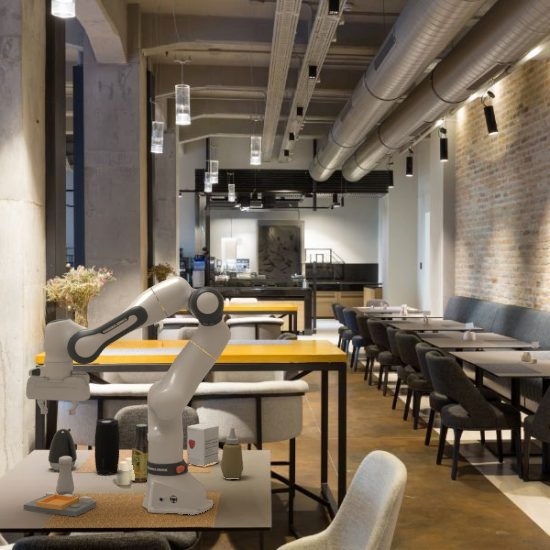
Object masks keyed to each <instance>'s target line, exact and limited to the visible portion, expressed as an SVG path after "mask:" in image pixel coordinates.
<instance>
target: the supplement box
mask: <svg viewBox="0 0 550 550" xmlns="http://www.w3.org/2000/svg"><path fill="white" fill-rule="evenodd" d="M186 429H187V437H186V438H187V440H186V441H187V442H186V443H187V444H186V445H187V446H186V448H187V449H186V463H189V462H190V464H194V465H202V466H205V465H207V464H210V463H213V462H217V461H218V462H219V439H220V438H219V435H220V434H219V433H220V432H219V429H220V426H219V425H217V424H210V423H205V422H200V423H197V424H191V425H188V426H187V428H186Z"/></svg>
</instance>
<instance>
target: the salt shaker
mask: <svg viewBox="0 0 550 550" xmlns="http://www.w3.org/2000/svg"><path fill="white" fill-rule="evenodd" d="M59 464H60V465H61V466H60V471H58V476H57V484H56V490H55V491H56V492H55V493H57V495H65V494H71V495H73V493H74V491H75V483H74V479H73V478H74V477H73V472H72V468H71V465H70V464H72V457H70V456H62V457H60V458H59Z"/></svg>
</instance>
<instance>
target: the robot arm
mask: <svg viewBox="0 0 550 550" xmlns="http://www.w3.org/2000/svg"><path fill="white" fill-rule="evenodd" d="M224 309H225V299H224V296H223V295H222V293H221V292H220V291H219V290H218V289H217V288H215V287H212V286H202V287H200V288H193V287H192V286H191V284H190V283H189V281H187V280H186V279H185V278H184V277H182V276H173V277H170V278H168V279H165V280H163V281H160V282H158V283H156V284H154V285H153V286H151V287H149V288H147V289H146V290H144V291H143V292H141V293H140V294H139V295H137V296H136V297H135V298H134V299H133V300H132V301H131V302H130V304H129V305H128V306H127V307H126V309H125V310H124V311H122V312H121V313H120V314H119V315H117V316H116V317H113V318H112V319H111V320H108V321H107V322H104V323H103V324H101V325H99V326H98V327H96V328H93V329H92V328H91V327H90V328H88V327H86V326H83V325H81V324H78V323H76V322H75V321H74V320H72V319H71V318H68V317H64V318H59V319H55V320H50V321H49V322H48V323H47V324H46V326H45V329H44V335H43V337H44V340H43V348H44V354H45V355H44V359H43V365H39V366H36V367H34V368H30V369H29V370H28V376H29V377H28V378H27V381H26V388H25V389H26V390H25V395H26V398H27V399H28V400H37V402H36V403H37V405H38V407H39V409H40V414H41V415H47V414H48V410H49V409H48V407H46V406H45V401H65V402H66V401H68V402H69V401H70V402H71V404H72V408H70V409H68V416H75V415H76V409H77V408H78V406H79V404H80V402H85V401H88V400H89V399H90V398H91V388H90V387H91V386H90V381H91V380H90V379H91V378H90V377H91V376H90V375H89V373H88V372H86V371H84V370H80V371H79V370H74V362H75V363H77V364H80V365H88V364H92V363H93V362H95V361H96V360H97V359H99V357H100V356H101V354H102V353H103V351H104V350H105V349H106V348H107V347H108V346H110V345H112V344H113V343H114V342H117V341H118V340H119V339H121V338H123V337H124V336H126V335H128V334H129V333H132V332H134V331H137V330H139V329H140V330H141V329H143V328H146V327H150V326H152V325H154V324H156V323H159V322H161V321H164V320H165V319H167V318H168V317H171V316H172V315H173V314H176V313H177V312H180V311H183V310H186V312H188V313H189V314H190V315H191V317H193V318H194V319H196V320H198V327H197V329H196V331H195V333H194V334H193V335H192V336H191V338H190V339H189V340H188V342H186V343H185V345H184V347H183V348H182V349H181V350H180V352H179V353H178V354H177V356H176V357H175V358H174V360H173V362H172V363H171V365H170V367H169V369H168V370H167V372H166V373H165V375H164V377H163V378H162V379H159V380H157V381H155V382H154V383H153V384H151V386H150V387H149V389H148V391H147V440H148V460H147V481H146V486H145V487H146V488H145V494H144V498H143V501H142V506H143V508H145V509H146V510H147V512H148V513H153V514H166V513H178V514H177V515H183V514H188V516H196V515H195V514H197V515H200V514H199V513H201V514H203V513H205V511H206V512H208V511H209V510H211V509H212V508H213V507H214V505H213V504H214V500H213V499H208V498H207V497H208V496H207V492H206V487H205V485H204V483H202V482H201V481H200V480H199V479H197V478H196V477H195V476H194V475H192V474H191V473H190V472H189V467H191V465H189V464H190V462H189V463H187V461H185V459H184V430H183V429H184V428H183V427H184V426H183V412H184V410H185V409H186V407H187V405H188V404H189V403H190V401H191V400H192V398H193V396H194V395H195V393H196V391H197V389H198V388H199V386H200V385H201V383H202V381H203V380H204V378H205V376H207V374H208V373H209V372H210V370H211V369H212V368H213V366H214V365H215V364H216V363H217V361H218V360H219V359H220V358H221V356H222V354H223V352H224V350H225V349H226V347H227V345H228V343H229V341H230V339H231V337H232V332H231V330H230V327H229V326H228V324H227V323H225V322H224V321H223V316H224V315H223V314H224ZM212 506H213V507H212ZM211 507H212V508H211ZM210 508H211V509H210ZM207 510H208V511H207ZM202 512H203V513H202ZM189 514H190V515H189Z"/></svg>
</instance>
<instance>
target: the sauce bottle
mask: <svg viewBox="0 0 550 550" xmlns="http://www.w3.org/2000/svg"><path fill="white" fill-rule="evenodd" d="M147 460H148V424H145V423H138V424H136V425H135V439H134V442H133V444H132V447H131V463H132V464H131V465H133V470H134V474H135V482H136V483H144V482H147V481H146V480H147Z"/></svg>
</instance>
